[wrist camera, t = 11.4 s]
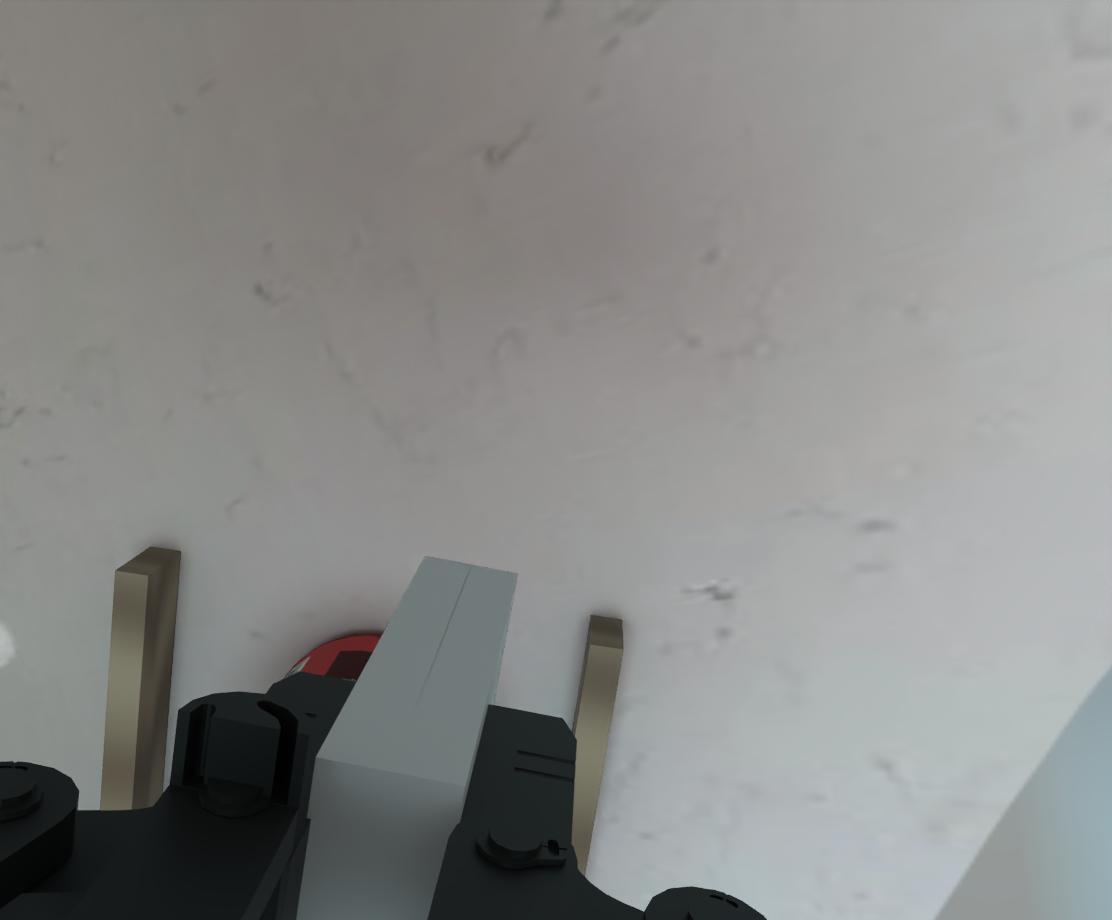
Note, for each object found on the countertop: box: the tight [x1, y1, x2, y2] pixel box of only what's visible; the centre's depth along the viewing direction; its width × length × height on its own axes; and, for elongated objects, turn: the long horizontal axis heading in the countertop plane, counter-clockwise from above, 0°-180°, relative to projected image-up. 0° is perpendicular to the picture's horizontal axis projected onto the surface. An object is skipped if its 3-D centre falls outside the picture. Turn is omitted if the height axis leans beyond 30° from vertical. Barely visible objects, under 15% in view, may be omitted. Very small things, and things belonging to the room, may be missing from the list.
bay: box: [100, 547, 623, 876], centre depth 41 cm, size 15×18×3 cm
